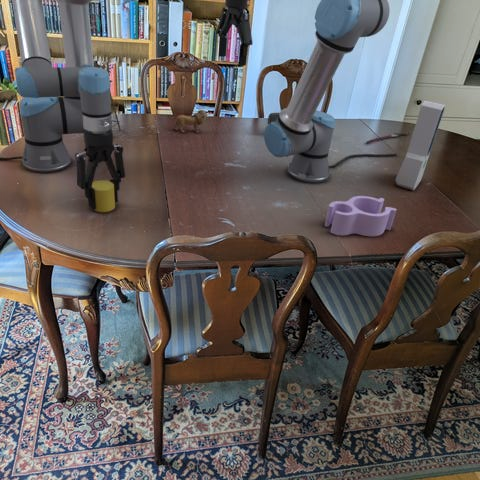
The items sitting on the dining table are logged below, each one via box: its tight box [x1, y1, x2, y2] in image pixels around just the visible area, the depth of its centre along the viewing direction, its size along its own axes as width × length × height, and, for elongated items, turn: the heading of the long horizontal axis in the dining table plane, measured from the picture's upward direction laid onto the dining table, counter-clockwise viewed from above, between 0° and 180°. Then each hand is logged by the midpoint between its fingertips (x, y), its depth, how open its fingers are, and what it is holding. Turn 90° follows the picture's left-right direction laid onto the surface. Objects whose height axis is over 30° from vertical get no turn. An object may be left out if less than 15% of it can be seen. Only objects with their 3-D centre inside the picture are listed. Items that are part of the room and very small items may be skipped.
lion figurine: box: [171, 109, 207, 134], centre depth 196 cm, size 15×5×9 cm, turn 110°
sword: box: [365, 132, 410, 145], centre depth 213 cm, size 31×3×1 cm, turn 126°
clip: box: [324, 195, 398, 237], centre depth 141 cm, size 20×12×7 cm, turn 109°
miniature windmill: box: [93, 55, 122, 131], centre depth 181 cm, size 9×8×30 cm
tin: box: [92, 179, 116, 213], centre depth 137 cm, size 7×7×7 cm
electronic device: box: [395, 100, 447, 191], centre depth 166 cm, size 12×8×30 cm, turn 148°
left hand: (103, 203), depth 138 cm, fingers closed on tin, 7 cm apart
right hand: (231, 60), depth 168 cm, fingers open, 13 cm apart
